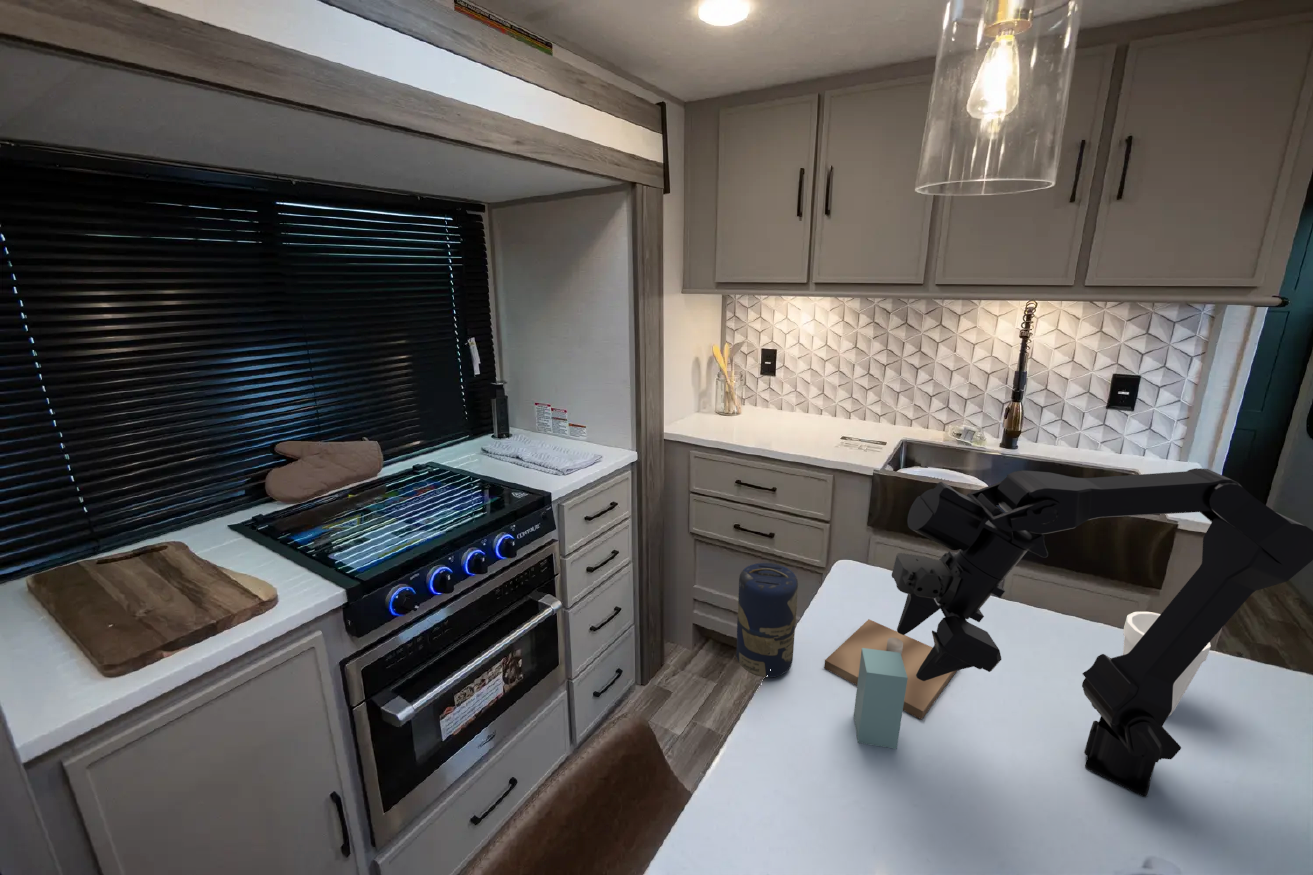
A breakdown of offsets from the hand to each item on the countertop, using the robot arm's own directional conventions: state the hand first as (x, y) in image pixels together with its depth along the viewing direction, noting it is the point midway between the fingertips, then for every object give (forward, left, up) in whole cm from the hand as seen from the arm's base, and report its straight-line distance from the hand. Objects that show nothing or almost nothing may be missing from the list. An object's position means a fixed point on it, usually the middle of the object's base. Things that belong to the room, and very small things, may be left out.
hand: (909, 654), depth 76 cm
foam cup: (-24, -35, -15) cm, 45 cm away
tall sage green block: (+3, 0, -15) cm, 16 cm away
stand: (+7, -15, -15) cm, 23 cm away
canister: (+23, -1, -15) cm, 28 cm away
